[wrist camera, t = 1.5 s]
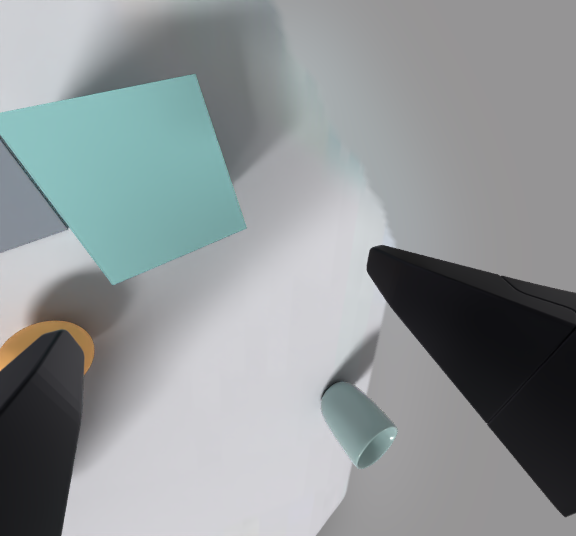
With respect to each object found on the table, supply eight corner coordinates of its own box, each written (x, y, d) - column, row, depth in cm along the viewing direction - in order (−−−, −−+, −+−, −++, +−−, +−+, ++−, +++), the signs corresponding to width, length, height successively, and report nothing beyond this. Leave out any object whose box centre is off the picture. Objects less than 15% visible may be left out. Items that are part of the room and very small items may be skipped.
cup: (305, 410, 41) (346, 473, 34) (330, 371, 41) (379, 426, 33) (334, 410, 46) (376, 466, 38) (357, 375, 45) (405, 424, 38)
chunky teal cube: (117, 239, 19) (112, 285, 13) (42, 125, 15) (-15, 115, 9) (213, 203, 22) (246, 228, 15) (171, 96, 17) (195, 73, 11)
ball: (43, 373, 20) (23, 429, 16) (-11, 330, 18) (-50, 384, 14) (110, 340, 22) (107, 384, 18) (71, 296, 19) (56, 336, 15)
